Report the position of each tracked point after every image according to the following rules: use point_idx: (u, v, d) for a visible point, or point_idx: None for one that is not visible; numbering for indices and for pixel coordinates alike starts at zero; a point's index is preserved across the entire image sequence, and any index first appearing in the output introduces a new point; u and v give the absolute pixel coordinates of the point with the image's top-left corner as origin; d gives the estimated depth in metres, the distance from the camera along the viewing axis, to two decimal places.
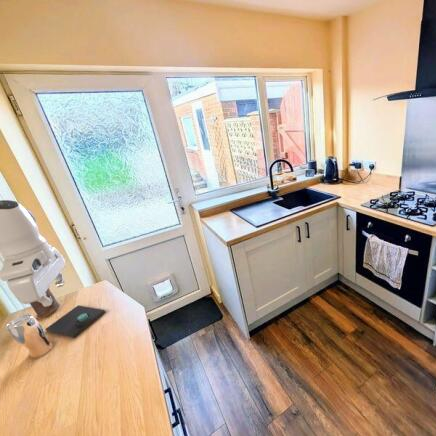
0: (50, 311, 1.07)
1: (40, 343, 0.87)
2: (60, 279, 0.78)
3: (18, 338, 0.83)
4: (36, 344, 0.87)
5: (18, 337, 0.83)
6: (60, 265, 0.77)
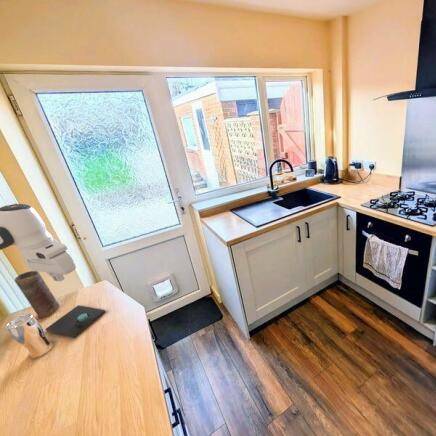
0: (50, 311, 1.07)
1: (39, 343, 0.87)
2: None
3: (18, 338, 0.83)
4: (36, 344, 0.87)
5: (18, 337, 0.83)
6: None
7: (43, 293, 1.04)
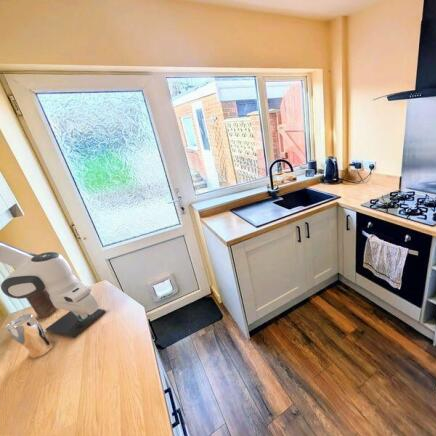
0: (50, 311, 1.07)
1: (39, 343, 0.87)
2: None
3: (18, 338, 0.83)
4: (36, 344, 0.87)
5: (18, 337, 0.83)
6: None
7: (43, 293, 1.04)
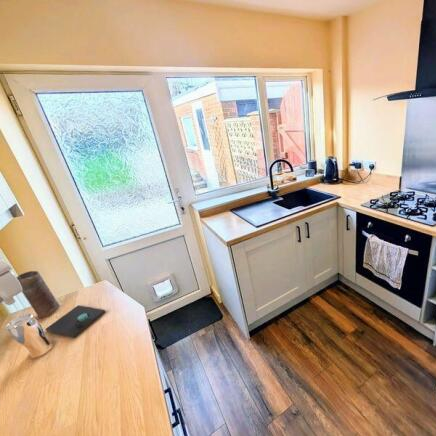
0: (50, 311, 1.07)
1: (39, 343, 0.87)
2: None
3: (18, 338, 0.83)
4: (36, 344, 0.87)
5: (18, 337, 0.83)
6: None
7: (43, 293, 1.04)
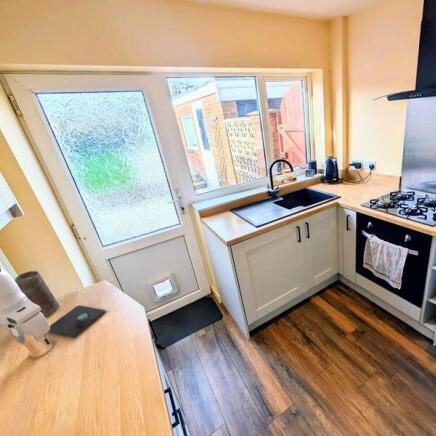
0: (50, 311, 1.07)
1: (40, 343, 0.87)
2: None
3: (18, 338, 0.83)
4: (37, 344, 0.87)
5: (18, 337, 0.83)
6: None
7: (43, 293, 1.04)
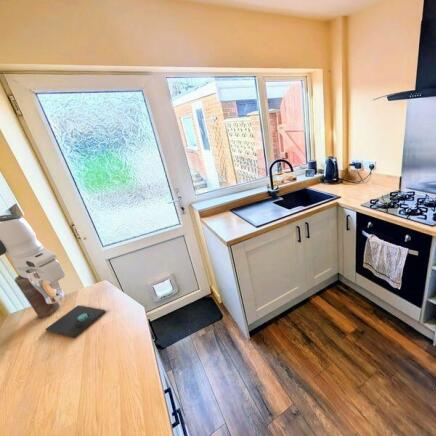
0: (50, 311, 1.07)
1: (55, 290, 0.94)
2: None
3: (36, 283, 0.89)
4: (52, 291, 0.93)
5: (36, 282, 0.89)
6: None
7: None
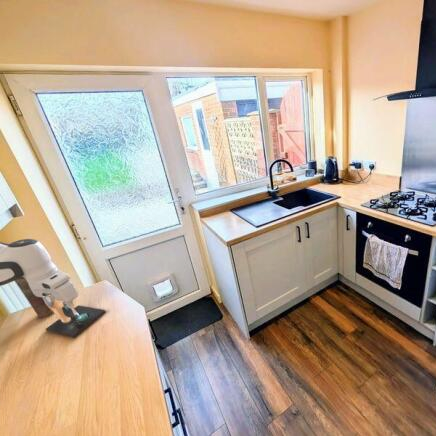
0: (50, 311, 1.07)
1: (69, 311, 0.99)
2: None
3: (51, 305, 0.94)
4: (66, 312, 0.98)
5: (51, 304, 0.94)
6: None
7: None
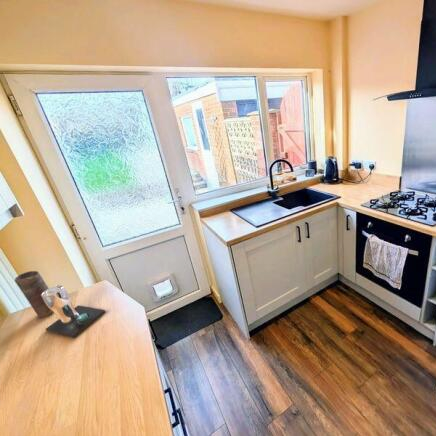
0: (50, 311, 1.07)
1: (69, 311, 0.99)
2: None
3: (51, 305, 0.94)
4: (66, 312, 0.98)
5: (51, 304, 0.94)
6: None
7: None
